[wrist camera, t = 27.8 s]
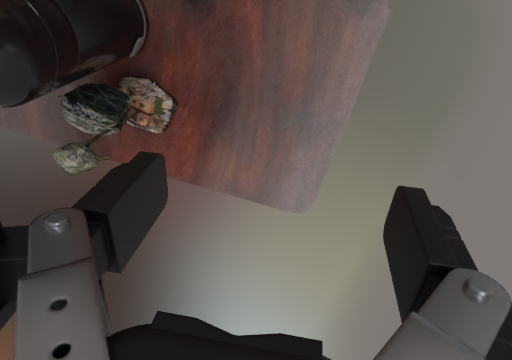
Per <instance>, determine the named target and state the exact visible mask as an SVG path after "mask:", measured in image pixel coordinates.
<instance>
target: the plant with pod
mask: <svg viewBox="0 0 512 360" xmlns="http://www.w3.org/2000/svg"><path fill="white" fill-rule="evenodd" d="M120 77H121V76H120ZM126 77H127V76H126ZM126 77H123V78H122V77H121V78H120V79H118V80H119V81H118V82H119V83H118V84H119V85H118V88H117V89H115V88H113V87H111V86H109V85H106V84H101V83H100V84H92V83H89V84H85V85H82V86H80V85H78V87H77V88H76V89H75V90H73V91H71V92H69V93H66V94H65V95H64V96H62V95H60V96H58V97H62V100H61V107H62V111H61V113H62V115H63V117H64V118H65V119H66V120H67V122H69V123H70V124H71V125H73V126H74V127H75V128H78V129H79V130H81V131H84V132H86V133H89V134H93V135H96V136H95V137H93V138H92V139H91V140H88V141H87V142H85V143H80V142H79V143H70V144H67V145H65V146H62V147H61V148H58V149H56V150H55V151H54V152H53V154H52V157H54V158H55V159H56V162H57V164H58V166H59V167H60V168H61V169H62V170H63V171H64V172H66V173H67V174H69V175H75V174H77V173H81V172H83V171H88V170H91V169H93V168H95V167H96V166H97V165H98V161H105V160H108V159H109V157H99V156H97V155H96V154H94V152H92V151H91V150H90V149H89V147H88V146H90V145H91V144H92V143H93V142H95V140H97V139H98V138H100V137H101V136H102V135H104V136H105V135H111V134H115V133H117V132H120V131H121V128H122V126H123V125H124V124H125V123H127V124H130V125H132V127H133V126H134V127H135V126H136V127H139V128H140V129H141V128H143V129H144V130H145V131H146V132H148V131H151V132H152V133H153V132H154V131H155V133H159V134H161V133H162V132H163V131H166V130H165V128H167V127H166V126H165V125H166V124H169V123H167V122H166V121H169V117H170V118H172V115H173V113H172V112H173V110H174V111H176V110H175V108H178V107H177V104H176V102H175V99H174V100H173V98H171V97H170V96H169V95H168V94H167V93H165V92H164V91H162V90H161V89H160V88H159V87H158V86H156V87H155V82H154V83H153V84H152V85H151V80H149V79H146V80H145V78H139V79H136V78H132V77H131V78H130V77H127V78H126Z"/></svg>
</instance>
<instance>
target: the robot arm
mask: <svg viewBox="0 0 512 360" xmlns="http://www.w3.org/2000/svg"><path fill="white" fill-rule="evenodd" d="M147 35H148V18H147V13H146V10H145V7H144V5H143V3H142V1H141V0H0V107H3V108H6V107H16V106H20V105H23V104H25V103H28V102H30V101H32V100H34V99H37V98H39V97H41V96H43V95H46V94H48V93H50V92H52V91H54V90H57V89H59V88H61V87H63V86H65V85H67V84H69V83H72V82H74V81H76V80H78V79H80V78H83V77H85V76H87V75H89V74H91V73H94V72H96V71H98V70H100V69H102V68H105V67H107V66H109V65H111V64H113V63H116V62H118V61H120V60H123V59H127V58H131V57H133V56H135V54H136V53H138V52H139V51H140V50H141V49H142V47H143V46H144V44H145V42H146V39H147ZM167 196H168V188H167V177H166V166H165V158H164V156H163V155H162V154H159V153H151V152H143V151H141V152H139V153H138V154H137V155H136V156H135V157H134V158H133V159H132V160H131V161H130V162H129V163H123V164H121V165H119V166H117V167H115V168H113V169H112V170H110V171H109V172H108V173H107V174H106V175H105V176H104V177H103V179H101V180H100V181H99V182H98V183H97V184H96V186H94V187H93V188H91V190H89V191H88V193H86V194H85V195H84V196H83V197H82V198H81V199H80V200H79V201H78V202H77V203H76V204H75V205H74V206H73V207H71V208H59V209H54V210H51V211H48V212H46V213H43V214H41V215H40V216H38V217H37V218H35V219H34V220H33V221H32V223H31V224H30V225H29V226H16V227H15V226H14V227H3V226H2V224H1V222H0V330H1V329H2V328H3V326H4V325H5V324H6V322H7V321H8V320H9V319H10V318H11V317H12V315H13V314H14V313H15V312H16V328H15V329H16V330H15V346H14V360H331V359H329V358H327V357H325V356H323V355H322V341H319V340H314V339H308V338H303V337H297V336H292V335H286V334H281V333H279V334H261V335H242V336H237V335H233V334H230V333H228V332H226V331H224V330H222V329H219V328H217V327H215V326H213V325H211V324H208V323H206V322H204V321H202V320H200V319H197V318H193V317H188V316H183V315H177V314H172V313H166V312H161V311H157V314H156V315H155V317H154V320H153V322H152V324H144V325H138V326H134V327H131V328H127V329H124V330H122V331H119V332H116V333H114V334H113V333H112V328H111V323H110V318H109V313H108V307H107V302H106V297H105V293H104V288H103V283H102V279H101V278H102V276H103V275H104V274H105V272H106V271H109V272H114V273H121V272H122V271H123V269H124V268H125V266H126V265H127V263H128V262H129V260H130V259H131V257H132V256H133V254H134V253H135V251H136V249H137V248H138V247H139V245H140V244H141V242H142V240H143V239H144V238H145V236H146V235H147V233H148V231H149V230H150V228H151V227H152V225H153V224H154V222H155V221H156V219H157V218H158V216H159V215H160V213H161V212H162V210H163V209H164V207H165V205H166V202H167ZM383 239H384V245H385V249H386V254H387V258H388V263H389V267H390V271H391V276H392V281H393V285H394V290H395V294H396V299H397V303H398V307H399V312H400V317H401V321H402V324H401V326H400V327H399V328H398V329H397V331H396V332H395V333H394V334H393V336H392V337H391V338H390V339H389V340H388V342H387V343H386V344H385V346H384V347H383V348H382V349H381V350H380V352H379V353H378V354H377V355H376V356H375V358H374V359H373V360H512V302H511V298H510V296H509V294H508V293H507V291H506V290H505V289H504V288H503V287H502V286H501V285H500V284H499V283H498V282H497V281H495V280H494V279H493V278H491V277H489V276H488V275H485V274H483V273H481V272H479V271H478V269H477V268H476V266H475V264H474V262H473V260H472V258H471V256H470V254H469V252H468V250H467V248H466V246H465V244H464V242H463V240H461V236H460V234H459V232H458V231H457V230H456V227H455V225H454V223H453V221H452V219H451V217H450V216H449V215H448V214H447V213H446V212H445V211H443V210H442V209H441V208H440V207H439V206H434V205H431V203H430V201H429V199H428V197H427V195H426V192H425V191H424V189H421V188H413V187H406V186H398V187H397V189H396V191H395V194H394V197H393V200H392V203H391V206H390V209H389V212H388V215H387V218H386V222H385V226H384V233H383Z"/></svg>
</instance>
